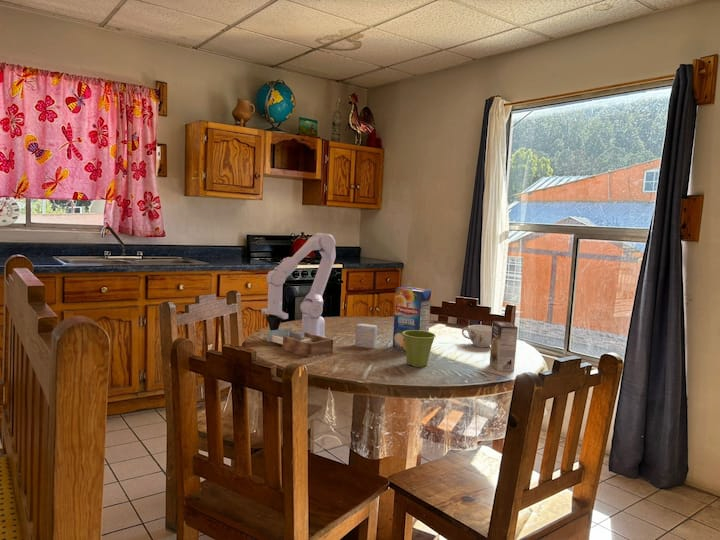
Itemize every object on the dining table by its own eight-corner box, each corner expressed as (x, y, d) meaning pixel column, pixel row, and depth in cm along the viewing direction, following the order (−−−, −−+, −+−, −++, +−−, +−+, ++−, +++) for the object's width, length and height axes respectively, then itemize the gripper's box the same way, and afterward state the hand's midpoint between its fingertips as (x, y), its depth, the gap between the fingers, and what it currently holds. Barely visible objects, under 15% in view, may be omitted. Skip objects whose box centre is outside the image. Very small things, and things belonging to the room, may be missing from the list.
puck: (296, 339, 216) (297, 331, 216) (304, 342, 212) (304, 333, 212) (286, 341, 213) (286, 332, 212) (294, 344, 209) (294, 335, 209)
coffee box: (488, 364, 202) (491, 320, 200) (505, 364, 202) (509, 321, 201) (496, 371, 193) (500, 326, 191) (514, 371, 193) (518, 326, 191)
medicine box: (376, 346, 220) (378, 325, 219) (373, 349, 216) (374, 327, 215) (358, 344, 223) (359, 323, 222) (354, 346, 219) (355, 325, 218)
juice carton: (392, 347, 220) (395, 287, 218) (402, 344, 226) (405, 286, 224) (418, 352, 213) (421, 291, 211) (427, 349, 219) (431, 290, 216)
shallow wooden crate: (281, 349, 209) (282, 336, 208) (304, 344, 218) (305, 332, 217) (309, 357, 199) (310, 344, 198) (332, 352, 207) (333, 339, 207)
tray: (266, 341, 215) (267, 331, 214) (289, 337, 224) (290, 327, 223) (292, 348, 205) (292, 338, 204) (315, 344, 214) (315, 334, 213)
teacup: (500, 345, 233) (501, 326, 232) (493, 351, 222) (494, 331, 221) (465, 340, 239) (466, 322, 238) (457, 345, 228) (458, 326, 227)
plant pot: (410, 370, 189) (412, 338, 187) (394, 361, 199) (396, 330, 198) (440, 368, 193) (442, 336, 192) (423, 359, 204) (425, 329, 203)
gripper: (255, 298, 221) (254, 331, 223) (278, 303, 212) (277, 338, 213) (269, 297, 227) (268, 329, 228) (292, 302, 217) (291, 336, 218)
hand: (274, 333), depth 221 cm, fingers closed
